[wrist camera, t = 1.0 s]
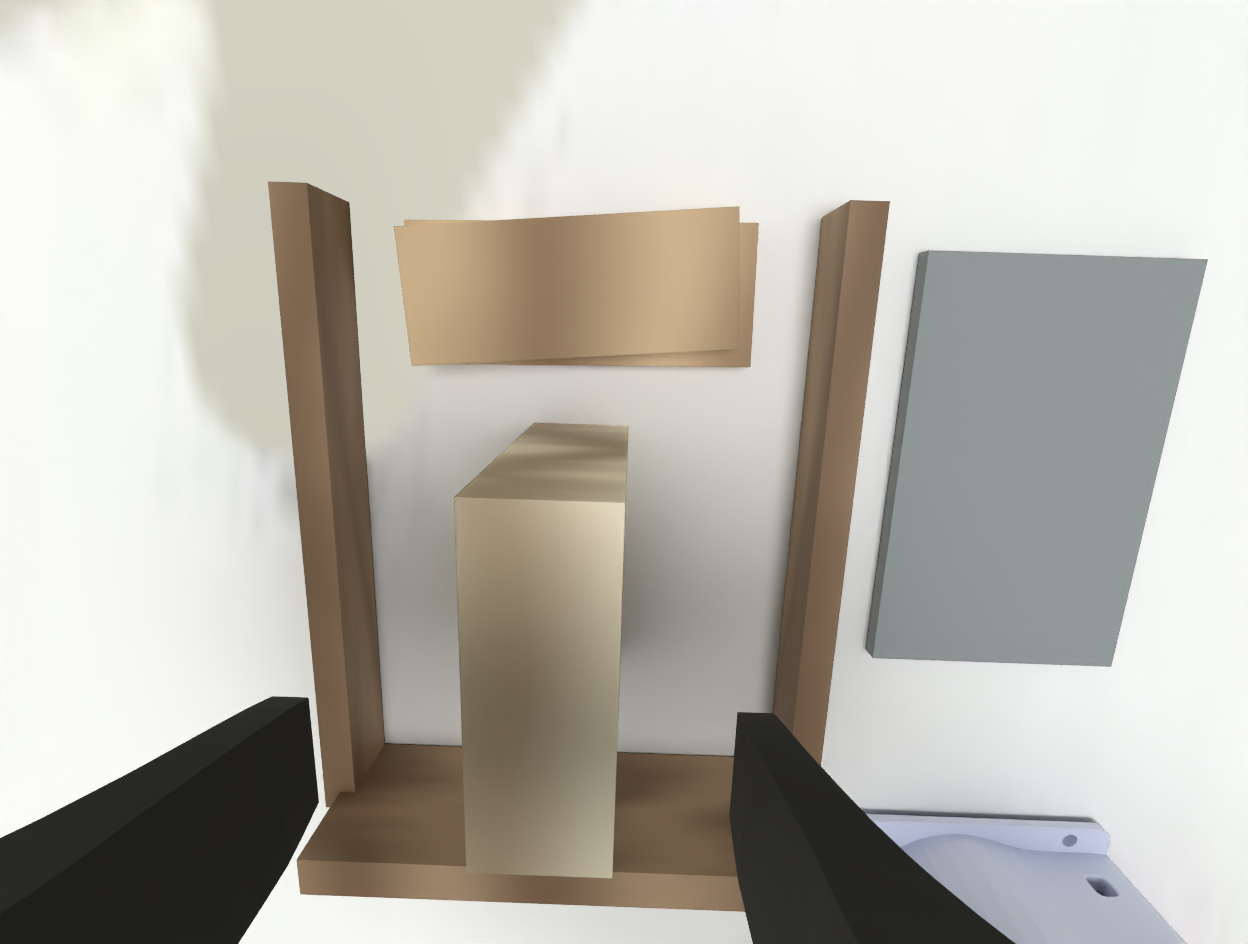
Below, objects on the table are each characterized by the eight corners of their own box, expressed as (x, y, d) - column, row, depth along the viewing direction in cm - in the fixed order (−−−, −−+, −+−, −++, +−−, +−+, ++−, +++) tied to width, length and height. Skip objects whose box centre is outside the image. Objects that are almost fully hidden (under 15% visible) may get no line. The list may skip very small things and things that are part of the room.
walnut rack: (856, 218, 18) (940, 175, 13) (792, 787, 22) (837, 914, 17) (315, 201, 18) (196, 152, 13) (359, 771, 22) (283, 893, 17)
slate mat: (1189, 261, 18) (1207, 259, 17) (1097, 657, 21) (1111, 666, 20) (919, 252, 18) (928, 250, 17) (866, 648, 21) (872, 657, 20)
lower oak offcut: (747, 231, 19) (758, 222, 17) (740, 363, 19) (750, 367, 18) (423, 228, 19) (404, 219, 17) (431, 360, 20) (413, 363, 18)
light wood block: (628, 425, 19) (625, 502, 11) (620, 652, 21) (612, 878, 12) (534, 422, 19) (454, 497, 11) (535, 648, 21) (466, 872, 12)
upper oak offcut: (730, 216, 17) (739, 206, 16) (732, 347, 18) (740, 348, 16) (412, 234, 17) (393, 226, 16) (428, 363, 18) (411, 365, 17)
